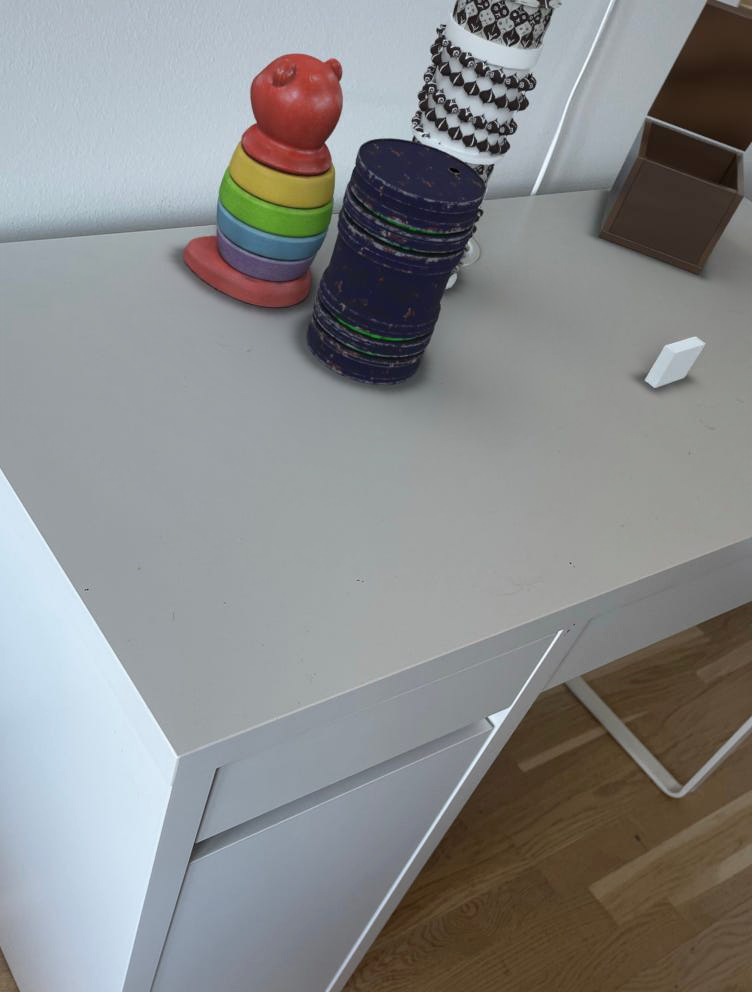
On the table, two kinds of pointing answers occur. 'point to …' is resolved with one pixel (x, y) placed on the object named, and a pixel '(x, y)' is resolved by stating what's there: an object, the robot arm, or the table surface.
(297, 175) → the stacking bear
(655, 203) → the chest
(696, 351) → the eraser
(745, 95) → the lid
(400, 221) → the storage jar
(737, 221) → the table surface
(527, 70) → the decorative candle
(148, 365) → the table surface
